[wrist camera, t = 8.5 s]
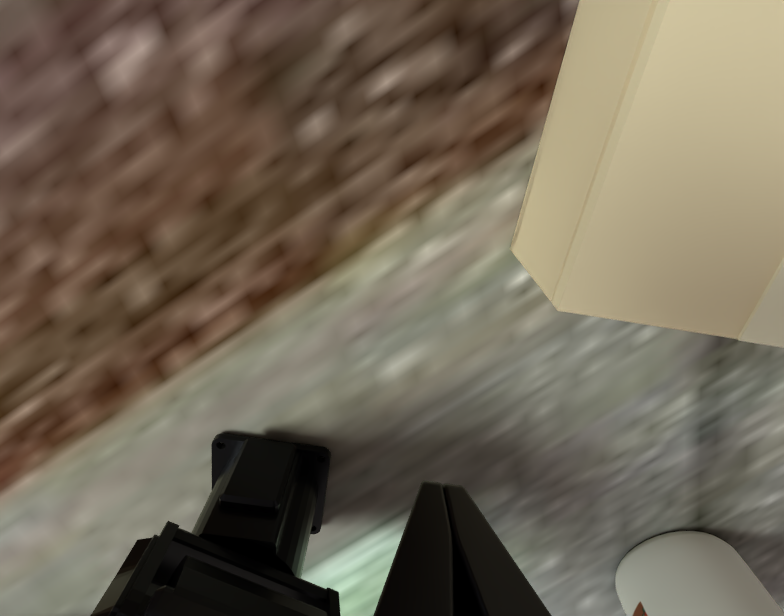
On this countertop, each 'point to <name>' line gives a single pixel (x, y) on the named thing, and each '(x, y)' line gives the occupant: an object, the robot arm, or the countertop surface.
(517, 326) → the countertop surface
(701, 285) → the lid
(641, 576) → the milk bottle
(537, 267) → the cardboard box
